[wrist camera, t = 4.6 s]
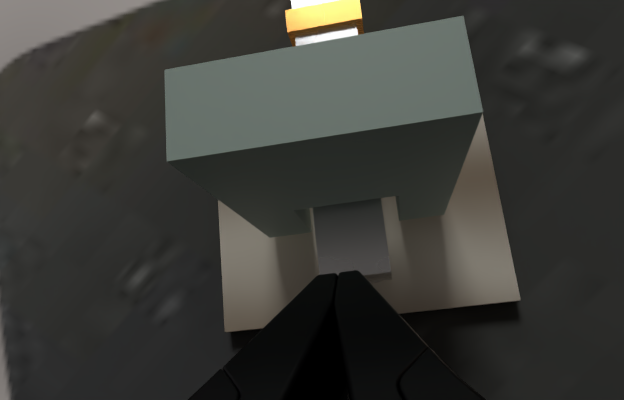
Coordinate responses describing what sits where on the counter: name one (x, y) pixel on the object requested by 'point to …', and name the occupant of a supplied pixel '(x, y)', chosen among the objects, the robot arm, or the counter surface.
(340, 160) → the sleeve collar
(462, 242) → the guide board
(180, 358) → the counter surface
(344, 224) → the grey square-edged bar
